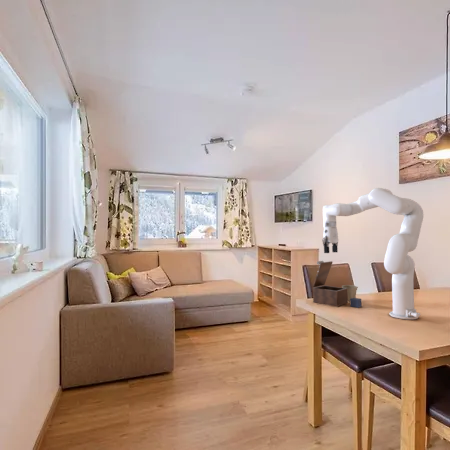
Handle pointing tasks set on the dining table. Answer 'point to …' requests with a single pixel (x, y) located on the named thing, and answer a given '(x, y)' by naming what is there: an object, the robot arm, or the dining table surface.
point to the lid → (322, 273)
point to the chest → (330, 295)
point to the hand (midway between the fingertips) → (330, 252)
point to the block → (355, 302)
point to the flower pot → (351, 291)
